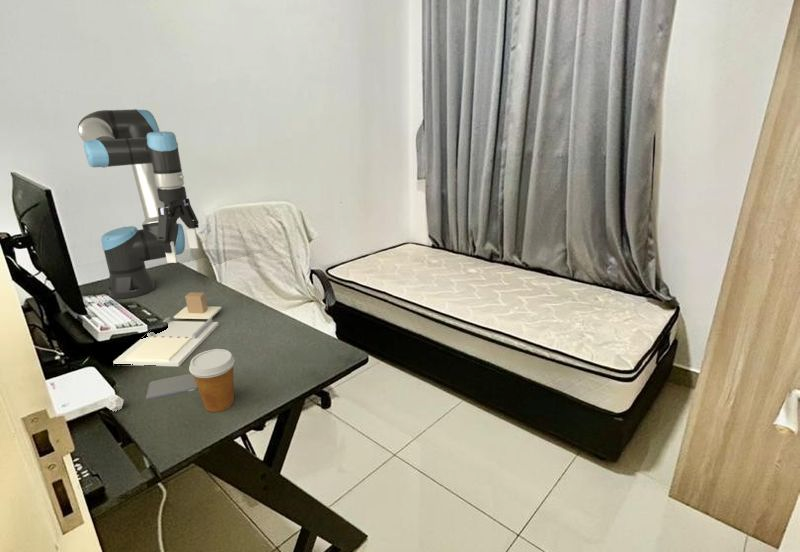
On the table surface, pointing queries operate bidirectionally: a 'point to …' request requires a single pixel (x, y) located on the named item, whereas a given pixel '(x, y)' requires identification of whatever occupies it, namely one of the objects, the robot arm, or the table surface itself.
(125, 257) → the robot arm
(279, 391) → the table surface
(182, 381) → the smartphone
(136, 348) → the ticket board
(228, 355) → the disposable coffee cup
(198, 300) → the tabbed cream panel
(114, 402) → the game die
